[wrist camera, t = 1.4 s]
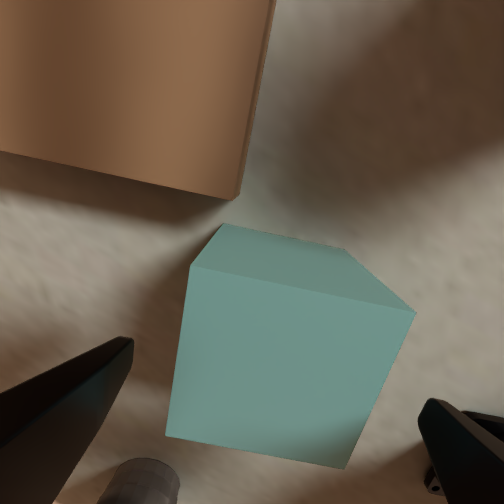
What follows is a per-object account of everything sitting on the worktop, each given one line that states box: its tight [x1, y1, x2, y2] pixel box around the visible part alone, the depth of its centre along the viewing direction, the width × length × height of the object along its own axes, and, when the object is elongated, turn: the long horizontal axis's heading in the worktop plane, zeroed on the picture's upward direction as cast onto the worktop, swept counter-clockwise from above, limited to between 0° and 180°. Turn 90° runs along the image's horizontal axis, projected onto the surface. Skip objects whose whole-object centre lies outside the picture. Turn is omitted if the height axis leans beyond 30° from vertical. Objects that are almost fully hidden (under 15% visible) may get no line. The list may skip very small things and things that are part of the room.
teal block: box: [165, 223, 416, 469], centre depth 10 cm, size 6×6×6 cm
